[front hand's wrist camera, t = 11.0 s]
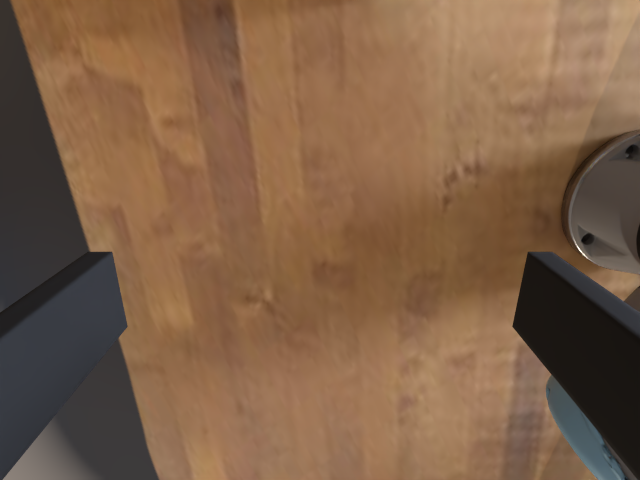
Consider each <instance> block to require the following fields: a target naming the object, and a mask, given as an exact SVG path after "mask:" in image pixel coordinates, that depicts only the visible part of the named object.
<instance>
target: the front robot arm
mask: <svg viewBox="0 0 640 480" xmlns="http://www.w3.org/2000/svg"><path fill="white" fill-rule="evenodd" d="M561 219H562V226H563V230H564V233H565V236H566V238H567V240H568V242H569V243H570V245H571V246H572V247H573V248H574V249H575V250H576V251H577V252H578V253H579V254H581V255H582V256H584V257H585V258H587V259H588V260H590V261H591V262H593V263H595V264H597V265H599V266H601V267H604V268H608V269H612V270H617V271H623V272H628V273H634V274H640V130H636V131H632V132H629V133H626V134H623V135H621V136H619V137H617V138H615V139H613V140H611V141H609V142H607V143H606V144H604V145H603V146H601V147H600V148H599V149H597V150H596V151H595V152H594V153H593V154H591V155H590V156H589V157H588V158H587V159H586V160H585V161H584V163H583V164H582V165H581V166H580V167H579V169H578V170H577V171H576V173H575V174H574V176H573V178H572V179H571V181H570V183H569V185H568V187H567V190H566V192H565V196H564V199H563V204H562V211H561ZM126 328H127V322H126V317H125V312H124V307H123V302H122V298H121V293H120V288H119V283H118V278H117V273H116V268H115V264H114V259H113V254H112V252H87V253H86V254H84V255H83V256H81V257H80V258H78V259H77V260H76V261H74V262H73V263H71V264H70V265H68V266H67V267H65V268H64V269H62V270H61V271H60V272H58V273H57V274H55V275H54V276H52V277H51V278H50V279H48V280H47V281H45V282H44V283H42V284H41V285H40V286H38V287H37V288H35V289H34V290H32V291H31V292H29V293H28V294H26V295H25V296H24V297H22V298H21V299H19V300H18V301H16V302H15V303H13V304H12V305H11V306H9V307H8V308H6V309H5V310H3V311H2V312H1V313H0V480H3V478H4V477H5V476H6V475H7V473H8V472H9V471H10V470H11V469H12V467H13V466H14V465H15V464H16V462H17V461H18V460H19V459H20V458H21V456H22V455H23V454H24V453H25V451H26V450H27V449H28V448H29V446H30V445H31V444H32V443H33V442H34V440H35V439H36V438H37V437H38V435H39V434H40V433H41V432H42V431H43V429H44V428H45V427H46V426H47V424H48V423H49V422H50V421H51V420H52V418H53V417H54V416H55V415H56V413H57V412H58V411H59V410H60V409H61V407H62V406H63V405H64V404H65V402H66V401H67V400H68V399H69V398H70V396H71V395H72V394H73V393H74V391H75V390H76V389H77V388H78V387H79V385H80V384H81V383H82V382H83V380H84V379H85V378H86V377H87V376H88V374H89V373H90V372H91V371H92V369H93V368H94V367H95V366H96V365H97V363H98V362H99V361H100V360H101V358H102V357H103V356H104V355H105V353H106V352H107V351H108V350H109V349H110V347H111V346H112V345H113V344H114V342H115V341H116V340H117V339H118V338H119V336H120V335H121V334H122V333H123V331H124V330H125V329H126ZM513 328H514V329H515V330H516V331H517V333H518V334H519V335H520V336H521V338H522V339H523V340H524V341H525V342H526V344H527V345H528V346H529V347H530V349H531V350H532V351H533V352H534V353H535V355H536V356H537V357H538V358H539V360H540V361H541V362H542V363H543V365H544V366H545V367H546V368H547V369H548V371H549V372H550V373H551V374H552V375H551V376H550V378H549V380H548V382H547V385H546V397H547V400H548V405H549V409H550V411H551V413H552V416H553V418H554V420H555V422H556V424H557V425H558V427H559V429H560V430H561V432H562V434H563V435H564V437H565V438H566V440H567V441H568V443H569V444H570V446H571V447H572V448H573V450H574V451H575V453H576V454H577V455H578V456H579V458H580V459H581V460H582V462H583V463H584V464H585V465H586V466H587V468H588V469H589V470H590V471H591V472H592V473H593V475H594V476H595V477H596V478H597V479H598V480H640V286H639V287H638V288H637V289H636V290H635V291H634V292H633V293H632V294H631V295H630V296H629V297H628V298H627V299H626V300H625V301H622V300H621V299H619V298H618V297H616V296H615V295H614V294H612V293H611V292H609V291H608V290H606V289H605V288H603V287H602V286H601V285H599V284H598V283H596V282H595V281H593V280H592V279H590V278H589V277H588V276H586V275H585V274H583V273H582V272H580V271H579V270H578V269H576V268H575V267H573V266H572V265H570V264H569V263H567V262H566V261H565V260H563V259H562V258H560V257H559V256H557V255H556V254H554V253H553V252H528V254H527V259H526V264H525V268H524V273H523V278H522V283H521V288H520V293H519V297H518V302H517V307H516V312H515V317H514V322H513Z"/></svg>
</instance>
